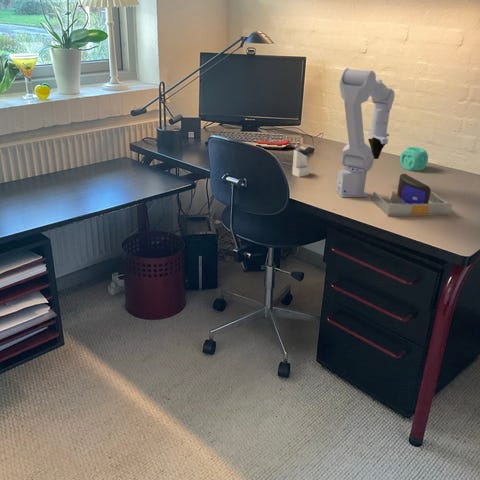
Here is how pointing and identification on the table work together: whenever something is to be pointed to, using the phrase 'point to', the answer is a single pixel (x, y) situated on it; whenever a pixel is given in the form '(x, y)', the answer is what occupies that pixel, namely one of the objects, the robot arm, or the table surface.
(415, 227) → the table surface
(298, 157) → the white wedge bracket
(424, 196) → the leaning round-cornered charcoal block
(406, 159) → the decorative dice
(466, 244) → the table surface
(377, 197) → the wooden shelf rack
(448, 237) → the table surface
